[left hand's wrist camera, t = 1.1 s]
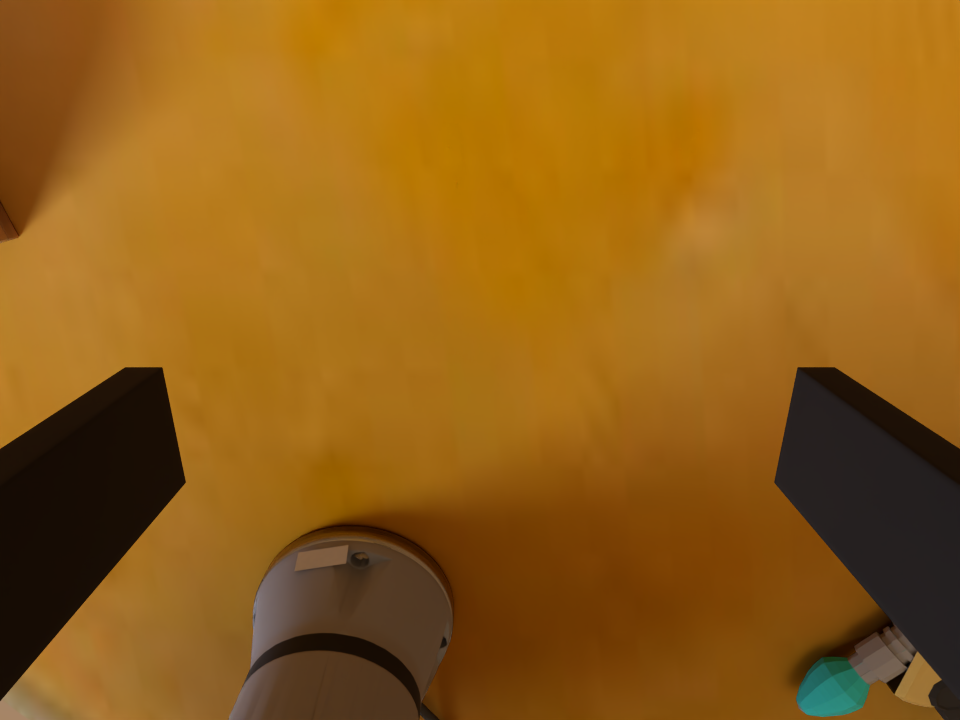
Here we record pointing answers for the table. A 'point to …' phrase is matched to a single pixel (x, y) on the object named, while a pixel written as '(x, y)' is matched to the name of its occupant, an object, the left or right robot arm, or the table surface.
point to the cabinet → (6, 227)
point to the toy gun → (875, 678)
